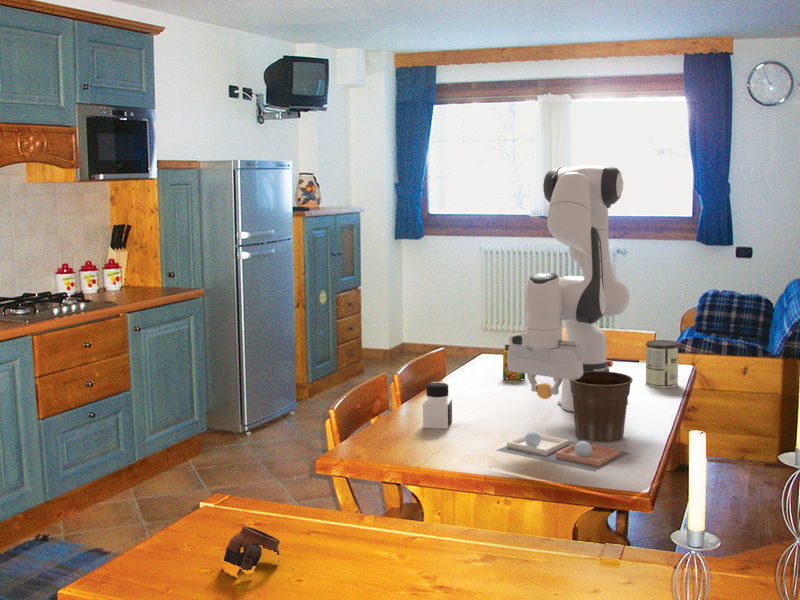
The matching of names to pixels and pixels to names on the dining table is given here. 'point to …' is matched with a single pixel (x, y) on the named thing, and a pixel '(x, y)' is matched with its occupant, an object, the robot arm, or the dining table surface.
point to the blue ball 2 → (583, 449)
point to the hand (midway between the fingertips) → (544, 392)
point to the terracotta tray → (596, 457)
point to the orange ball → (544, 391)
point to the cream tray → (544, 448)
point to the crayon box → (506, 371)
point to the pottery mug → (249, 547)
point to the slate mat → (553, 459)
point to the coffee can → (662, 363)
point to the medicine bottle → (437, 407)
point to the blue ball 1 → (532, 439)
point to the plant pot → (600, 405)
